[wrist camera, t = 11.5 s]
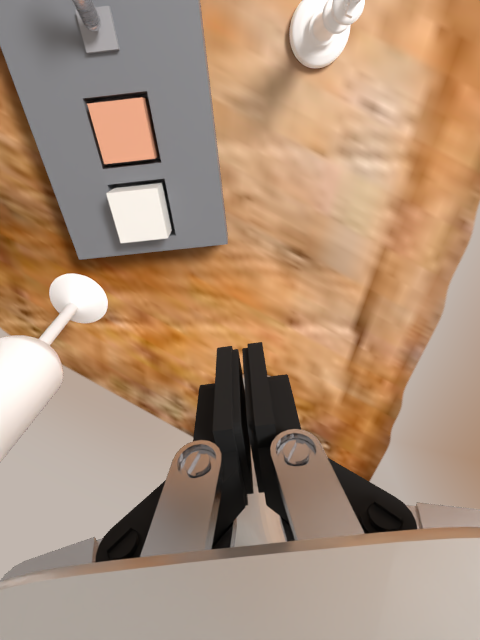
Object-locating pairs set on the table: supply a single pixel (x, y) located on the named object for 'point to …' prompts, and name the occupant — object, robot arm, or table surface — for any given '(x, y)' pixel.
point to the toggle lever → (88, 14)
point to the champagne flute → (41, 357)
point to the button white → (140, 212)
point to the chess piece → (322, 29)
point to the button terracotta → (124, 130)
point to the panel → (109, 85)
